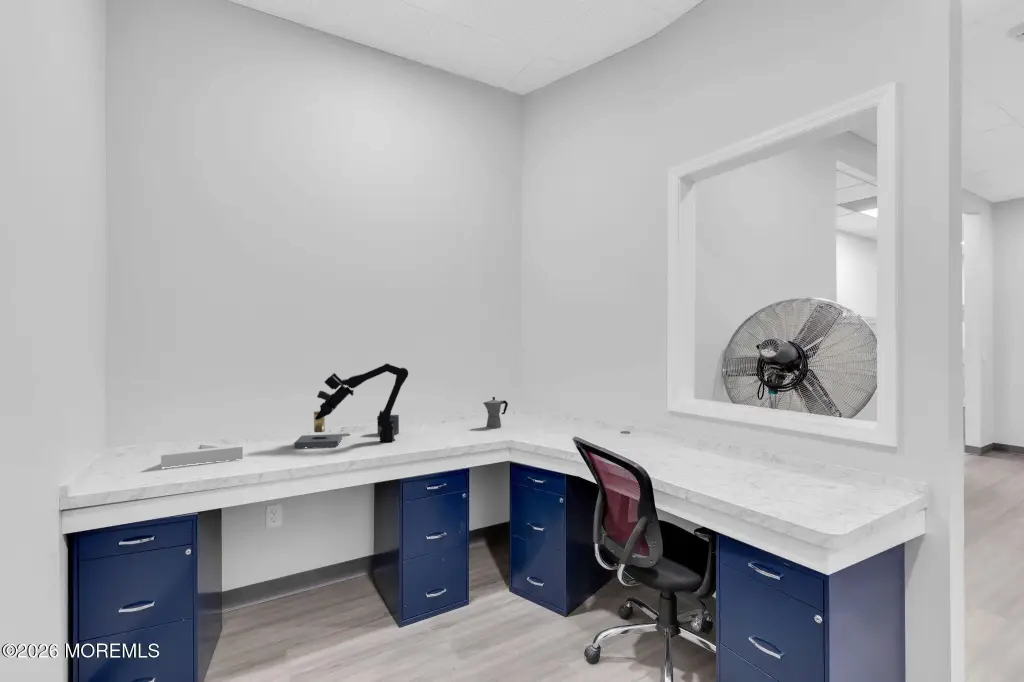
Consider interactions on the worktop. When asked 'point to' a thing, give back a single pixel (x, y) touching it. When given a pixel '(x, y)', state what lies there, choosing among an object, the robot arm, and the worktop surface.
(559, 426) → the worktop surface
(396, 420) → the small box
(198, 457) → the triangle block
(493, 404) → the coffeepot
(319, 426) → the cylinder
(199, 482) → the worktop surface
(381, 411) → the robot arm
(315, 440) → the grey octagonal hole plate
